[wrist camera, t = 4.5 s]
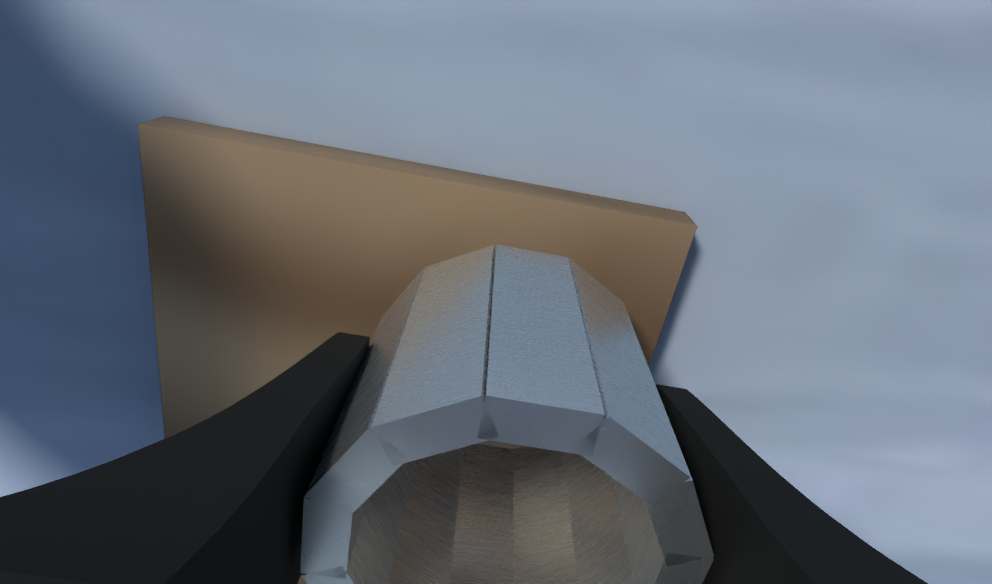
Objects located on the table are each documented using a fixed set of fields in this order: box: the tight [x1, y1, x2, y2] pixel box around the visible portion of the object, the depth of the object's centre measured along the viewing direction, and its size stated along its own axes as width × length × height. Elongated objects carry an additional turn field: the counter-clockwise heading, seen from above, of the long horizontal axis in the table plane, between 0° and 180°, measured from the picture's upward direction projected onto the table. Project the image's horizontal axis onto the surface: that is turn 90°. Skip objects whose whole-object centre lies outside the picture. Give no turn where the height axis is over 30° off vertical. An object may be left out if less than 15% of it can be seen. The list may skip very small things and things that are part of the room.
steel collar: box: [300, 244, 714, 584], centre depth 10 cm, size 6×6×5 cm
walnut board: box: [138, 117, 697, 584], centre depth 17 cm, size 19×12×1 cm, turn 170°
